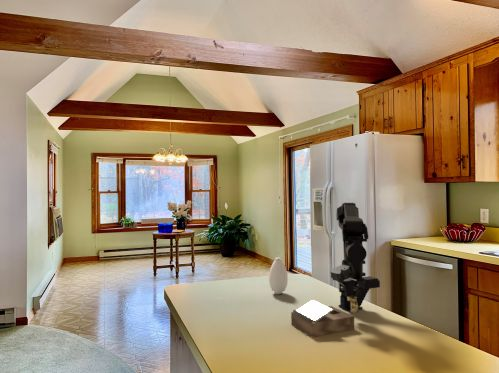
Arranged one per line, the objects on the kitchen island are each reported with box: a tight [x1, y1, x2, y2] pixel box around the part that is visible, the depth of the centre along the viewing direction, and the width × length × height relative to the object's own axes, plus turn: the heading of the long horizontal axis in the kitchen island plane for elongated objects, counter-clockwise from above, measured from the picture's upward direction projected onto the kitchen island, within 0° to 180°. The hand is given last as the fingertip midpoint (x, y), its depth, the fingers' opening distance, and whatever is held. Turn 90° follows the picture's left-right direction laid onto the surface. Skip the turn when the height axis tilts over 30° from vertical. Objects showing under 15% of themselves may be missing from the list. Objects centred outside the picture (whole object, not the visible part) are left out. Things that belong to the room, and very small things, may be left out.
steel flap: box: [295, 299, 333, 322], centre depth 121 cm, size 7×11×1 cm, turn 24°
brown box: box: [290, 305, 355, 338], centre depth 122 cm, size 16×12×5 cm
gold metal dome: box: [347, 295, 359, 313], centre depth 127 cm, size 5×5×5 cm
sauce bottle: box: [268, 252, 289, 295], centre depth 162 cm, size 8×8×18 cm
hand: (354, 303), depth 127 cm, fingers closed on gold metal dome, 5 cm apart
